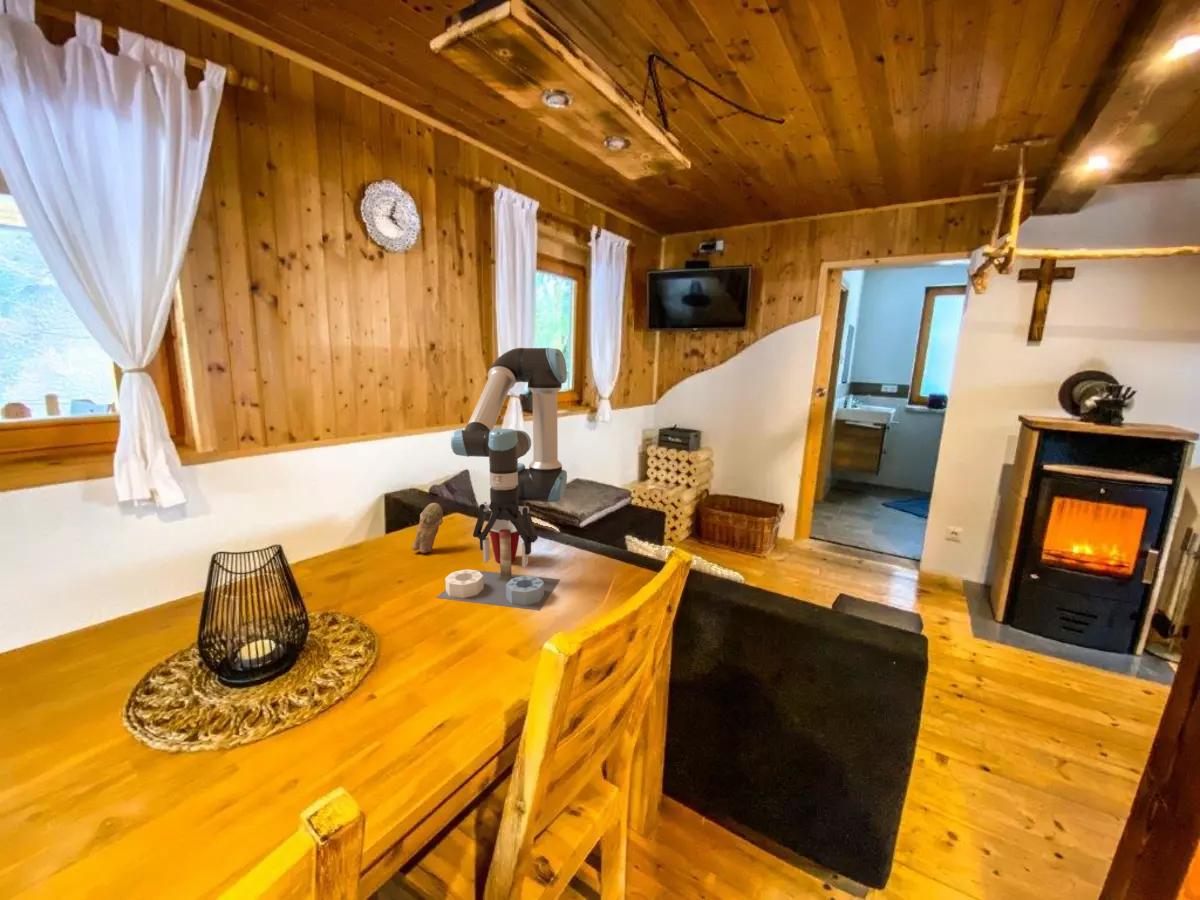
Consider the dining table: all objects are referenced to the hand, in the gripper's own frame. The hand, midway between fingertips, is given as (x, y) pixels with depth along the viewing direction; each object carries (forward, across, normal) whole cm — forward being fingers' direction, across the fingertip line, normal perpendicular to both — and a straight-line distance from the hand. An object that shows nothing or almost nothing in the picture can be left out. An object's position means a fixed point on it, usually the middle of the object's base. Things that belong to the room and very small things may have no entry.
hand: (505, 563), depth 139 cm
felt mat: (+5, +1, -6) cm, 8 cm away
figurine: (+5, -32, +14) cm, 35 cm away
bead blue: (+5, +9, -9) cm, 14 cm away
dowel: (+5, 0, 0) cm, 5 cm away
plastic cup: (+5, -5, +12) cm, 14 cm away
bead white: (+5, -8, -9) cm, 13 cm away
